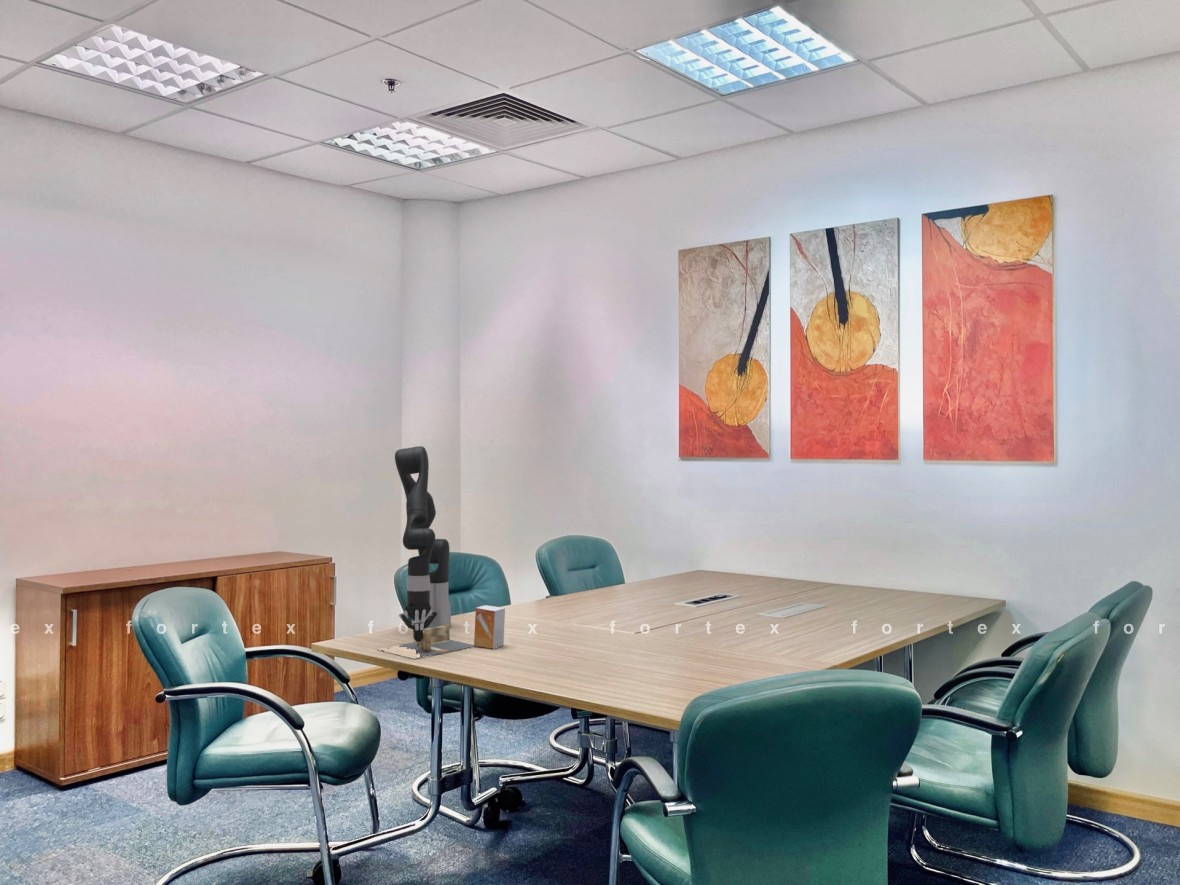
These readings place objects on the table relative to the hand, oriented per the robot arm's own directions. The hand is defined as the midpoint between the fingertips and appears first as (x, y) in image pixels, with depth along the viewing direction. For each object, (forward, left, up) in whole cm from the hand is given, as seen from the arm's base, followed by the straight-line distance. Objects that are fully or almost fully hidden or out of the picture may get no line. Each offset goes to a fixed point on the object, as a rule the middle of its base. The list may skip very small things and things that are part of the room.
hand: (417, 641), depth 321 cm
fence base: (-11, -7, -3) cm, 13 cm away
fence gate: (-3, 0, -3) cm, 4 cm away
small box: (-22, +10, -4) cm, 24 cm away
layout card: (-6, -3, -4) cm, 7 cm away
